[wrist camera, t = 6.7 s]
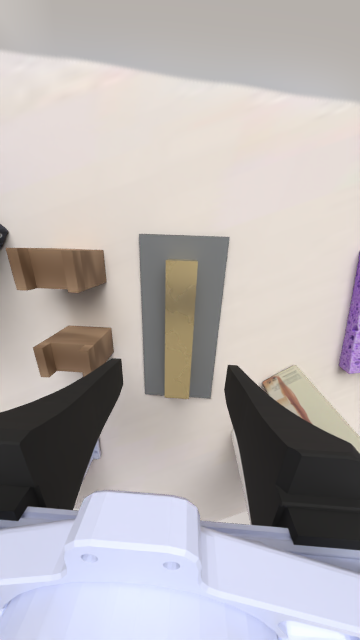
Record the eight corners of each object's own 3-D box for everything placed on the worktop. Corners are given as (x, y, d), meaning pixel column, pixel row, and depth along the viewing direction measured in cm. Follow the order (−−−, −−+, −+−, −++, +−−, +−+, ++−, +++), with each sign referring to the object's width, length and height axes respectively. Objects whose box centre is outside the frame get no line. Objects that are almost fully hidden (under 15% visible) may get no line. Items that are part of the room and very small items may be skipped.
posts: (113, 351, 22) (92, 379, 17) (72, 349, 22) (40, 376, 17) (103, 250, 18) (71, 250, 13) (53, 248, 18) (5, 247, 13)
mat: (210, 396, 23) (210, 398, 23) (145, 391, 23) (145, 394, 23) (228, 237, 17) (229, 237, 16) (140, 234, 17) (138, 233, 17)
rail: (189, 383, 22) (188, 398, 20) (167, 382, 22) (164, 397, 20) (196, 260, 17) (197, 261, 15) (168, 258, 17) (165, 260, 15)
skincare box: (260, 381, 22) (312, 480, 13) (295, 362, 21) (381, 455, 12) (281, 409, 23) (342, 517, 14) (315, 393, 22) (407, 498, 13)
